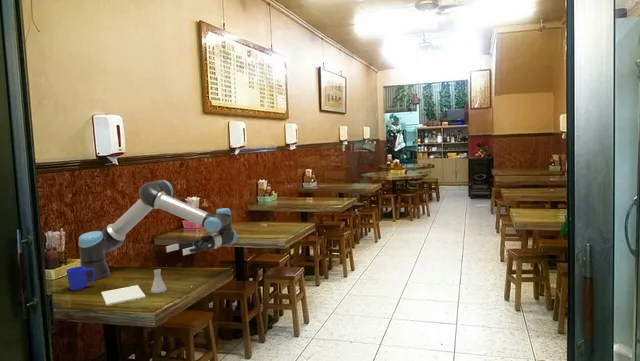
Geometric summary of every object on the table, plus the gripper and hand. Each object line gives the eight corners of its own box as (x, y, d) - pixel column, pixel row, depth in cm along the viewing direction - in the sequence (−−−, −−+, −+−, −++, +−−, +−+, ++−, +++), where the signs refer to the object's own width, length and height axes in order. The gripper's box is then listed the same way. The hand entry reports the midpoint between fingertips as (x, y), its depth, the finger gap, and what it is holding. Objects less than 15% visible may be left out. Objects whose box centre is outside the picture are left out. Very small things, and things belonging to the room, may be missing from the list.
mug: (94, 288, 222) (92, 268, 221) (66, 292, 218) (64, 272, 217) (97, 284, 230) (95, 264, 229) (70, 287, 226) (68, 267, 225)
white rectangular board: (101, 293, 214) (101, 292, 214) (137, 286, 222) (137, 285, 222) (106, 305, 197) (106, 304, 197) (145, 297, 205) (145, 296, 205)
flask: (149, 294, 210) (147, 273, 209) (152, 289, 217) (150, 268, 216) (166, 292, 211) (164, 271, 210) (168, 287, 218) (166, 267, 217)
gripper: (227, 251, 229) (191, 261, 212) (196, 246, 244) (161, 255, 228) (225, 236, 228) (189, 245, 212) (195, 232, 244) (159, 240, 227)
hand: (174, 250), depth 220 cm, fingers open, 13 cm apart
